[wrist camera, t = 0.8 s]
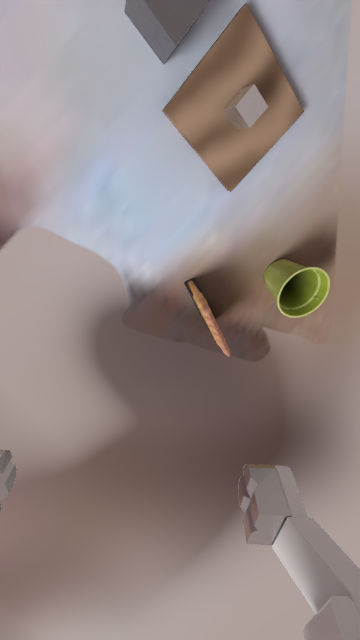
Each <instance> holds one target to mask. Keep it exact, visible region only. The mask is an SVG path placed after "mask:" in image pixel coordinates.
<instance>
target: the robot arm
mask: <svg viewBox="0 0 360 640" xmlns="http://www.w3.org/2000/svg"><path fill="white" fill-rule="evenodd" d="M11 458H12V455H11V452H10V451H9V450H0V501H1V500H2V499H4V498H5V497H6V496H7V495H8V494H9V493H10V491H11V489H12V487H13V485H14V481H15V478H16V467H15V464H13V463H12V462H11V461H10V460H11ZM243 473H244V475H243V476H242V477H241V478H240V481H239V488H238V493H239V502H240V507H241V508H242V509H243V511H244V512H245V516H244V519H243V525H244V530H245V536H246V542H247V544H261V545H273V546H272V548H273V550H274V551H275V553H276V554H277V556H278V557H279V559H280V560H281V561H282V563H283V565H284V566H285V568H286V569H287V571H288V572H289V574H290V575H291V577H292V579H293V580H294V582H295V583H296V585H297V586H298V588H299V589H300V591H301V592H302V594H303V595H304V597H305V598H306V600H307V601H308V603H309V605H310V606H311V607H312V609H313V610H314V612H315V614H316V615H315V616H314V617H313V618H312V619H311V620H310V621H309V623H308V624H307V625H306V626H305V628H304V630H303V633H304V638H305V640H360V569H359V568H358V567H357V566H356V565H355V564H354V563H353V561H351V559H350V558H349V557H348V556H347V555H346V554H345V553H344V552H343V550H342V549H341V548H340V547H339V546H338V545H337V544H336V543H335V542H334V541H333V540H332V539H331V538H330V537H329V535H328V534H327V533H326V532H325V531H324V530H323V529H322V528H321V527H320V525H319V524H318V523H317V522H316V521H315V520H314V519H313V518H308V515H307V512H306V510H305V507H304V504H303V502H302V499H301V496H300V493H299V491H298V488H297V485H296V482H295V480H294V477H293V474H292V472H291V470H290V468H289V467H287V466H273V465H257V464H246V465H245V466H244V468H243ZM0 510H1V503H0Z"/></svg>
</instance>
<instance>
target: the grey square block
mask: <svg viewBox="0 0 360 640" xmlns="http://www.w3.org/2000/svg"><path fill="white" fill-rule="evenodd" d="M209 1H210V0H126V6H125V13H126V15H127V16H128V17H129V19H130V20H131V21H132V23H133V24H134V25H135V27H136V28H137V29H138V31H139V32H140V33H141V35H142V36H143V37H144V39H145V40H146V41H147V43H148V44H149V45H150V47H151V48H152V50H153V51H154V52H155V54H156V55H157V56H158V58H159V59H160V60H161V62H162V63H163V64H164V63H165V62H166V60H167V59H168V58H169V56H170V55H171V53H172V52H173V51H174V49H175V48H176V47H177V45H178V44H179V43H180V41H181V40H182V38H183V37H184V36H185V34H186V33H187V32H188V30H189V29H190V28H191V26H192V25H193V23H194V22H195V21H196V19H197V18H198V17H199V15H200V14H201V12H202V11H203V10H204V8H205V7H206V5H207V4H208V3H209Z"/></svg>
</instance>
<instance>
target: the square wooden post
mask: <svg viewBox="0 0 360 640" xmlns="http://www.w3.org/2000/svg"><path fill="white" fill-rule="evenodd" d="M267 108H268V106H267V104H266V102H265V101H264V99H263V97H262V96H261V94H260V92H259V91H258V89H257V87H256V86H255V84H253V85H250V86H248V87H246V88H243V89H241V90H239V91H238V92H237V93H236V95H235V96H234V97H233V98H232V99H231V101H230V102H229V103H228V104H227V105H226V107H225V108H224V109H223V110H222V111H223V112H224V113H225V115H226V116H227V118H228V119H229V121H230V122H231V124H232V125H233V126H234V128H235V129H236V130H239V129H247V128H250V127H251V126H252V125H253V124H254V123H255V122H256V121H257V119H258V118H259V117H260V116H261V115H262V114H263V113H264V111H265V110H266V109H267Z"/></svg>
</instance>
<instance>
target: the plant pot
mask: <svg viewBox="0 0 360 640" xmlns="http://www.w3.org/2000/svg"><path fill="white" fill-rule="evenodd" d="M264 279H265V284H266V285H267V287H268V288H269V290H270V291H271V292H272V294H273V295H274V297H275V298H276V301H277V305H278V308H279V310H280V311H281V313H283V314H284V315H286V316H288V317H292V318H296V317H302V316H305V315H308V314H310V313H311V312H313V311H314V310H316V309H317V308H318V307H319V306H320V305H321V304H322V303H323V301H324V300H325V299H326V297H327V295H328V292H329V288H330V279H329V276H328V274H327V273H326V272H325V271H324V270H322V269H320V268H318V267H305V266H302V265H299V264H297V263H294V262H292V261H289V260H286V259H281V260H278V261H275V262H273V263H272V264H270V265H269V267H268V268H267V270H266V272H265V274H264Z"/></svg>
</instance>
